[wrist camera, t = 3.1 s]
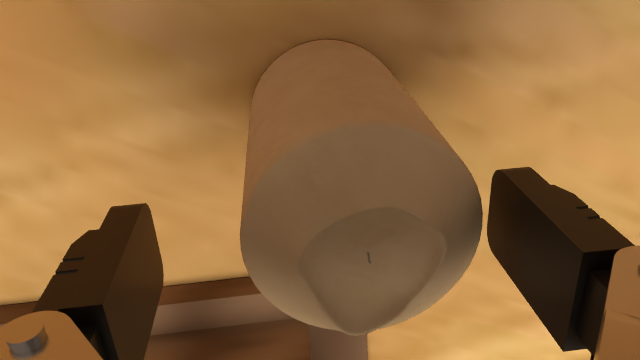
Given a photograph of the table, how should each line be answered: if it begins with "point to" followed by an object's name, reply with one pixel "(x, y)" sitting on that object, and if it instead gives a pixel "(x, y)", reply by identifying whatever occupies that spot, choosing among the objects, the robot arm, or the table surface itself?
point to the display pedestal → (230, 327)
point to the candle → (351, 194)
